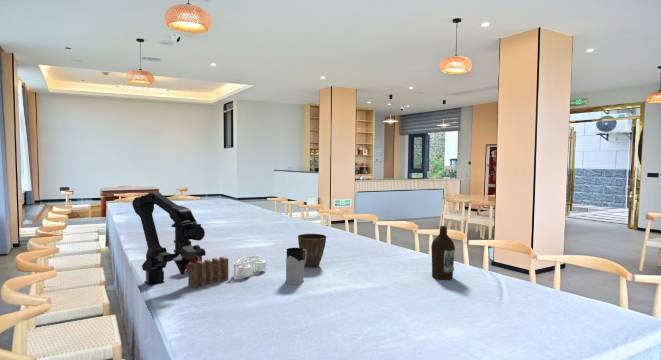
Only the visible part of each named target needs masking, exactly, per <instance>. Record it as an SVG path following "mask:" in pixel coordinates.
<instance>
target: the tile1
mask: <svg viewBox="0 0 661 360" xmlns="http://www.w3.org/2000/svg"><path fill="white" fill-rule="evenodd" d="M187 273H188V277H187V279H188V281H187V282H188V284H187V285H188V286H189V287H191V288H193V289H196V288H198V284H197V264H195V263H192V262H190V263H188V272H187Z"/></svg>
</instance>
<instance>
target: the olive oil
mask: <svg viewBox="0 0 661 360" xmlns="http://www.w3.org/2000/svg"><path fill="white" fill-rule="evenodd" d="M447 228H448V226H447V225H440V226H439V234H438V235H437V236H436V237H434V239H433V240H432V242H431V246H430V249H431V251H430V252H431V276H432V277H431V278H433V279H435V280H439V281H450V280H453V279H454V271H455V267H454V264H455V262H454V261H455V251H456V247H455V242H454V241H453V240H452V238H451V237H449V235H448V229H447Z"/></svg>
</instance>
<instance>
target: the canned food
mask: <svg viewBox="0 0 661 360" xmlns="http://www.w3.org/2000/svg"><path fill="white" fill-rule="evenodd" d="M196 261H202V262H203V256H198V255H197V254H196V256H195V258H193V259H192V260H190V261H189V263H190V262H192V263H195V264H196ZM185 272H186V273H188V265H187V267H186V270H185Z"/></svg>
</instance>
